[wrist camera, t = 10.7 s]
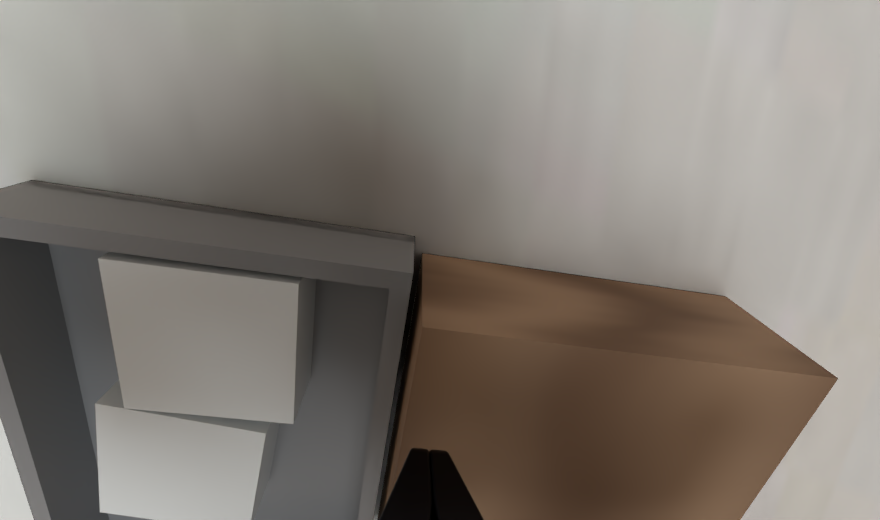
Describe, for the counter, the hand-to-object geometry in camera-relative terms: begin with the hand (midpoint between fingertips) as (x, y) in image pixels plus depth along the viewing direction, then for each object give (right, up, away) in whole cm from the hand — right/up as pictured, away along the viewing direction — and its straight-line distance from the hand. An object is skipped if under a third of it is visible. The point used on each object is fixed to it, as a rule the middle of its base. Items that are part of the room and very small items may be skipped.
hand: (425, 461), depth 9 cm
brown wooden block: (+4, -1, +6) cm, 7 cm away
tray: (-7, 0, +5) cm, 8 cm away
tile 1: (-7, -2, +3) cm, 8 cm away
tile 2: (-6, +2, +1) cm, 6 cm away
